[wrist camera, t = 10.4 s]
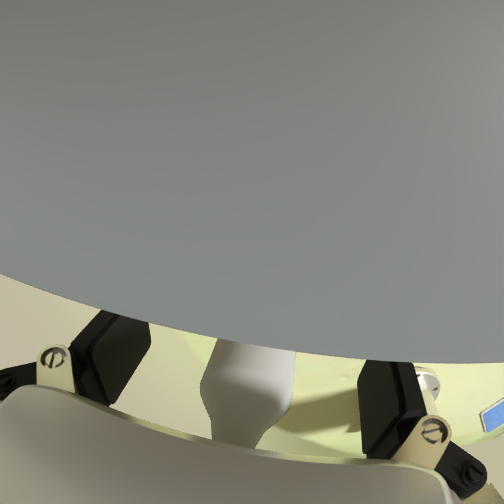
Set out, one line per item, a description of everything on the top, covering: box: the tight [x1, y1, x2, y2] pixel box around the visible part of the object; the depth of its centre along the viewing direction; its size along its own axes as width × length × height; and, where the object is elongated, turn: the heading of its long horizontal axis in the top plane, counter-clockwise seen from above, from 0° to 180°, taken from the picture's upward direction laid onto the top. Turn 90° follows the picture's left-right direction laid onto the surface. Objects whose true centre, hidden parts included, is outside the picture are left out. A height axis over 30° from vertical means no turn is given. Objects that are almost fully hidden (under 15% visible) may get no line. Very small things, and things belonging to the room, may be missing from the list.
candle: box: [200, 338, 296, 448], centre depth 17 cm, size 5×5×25 cm
